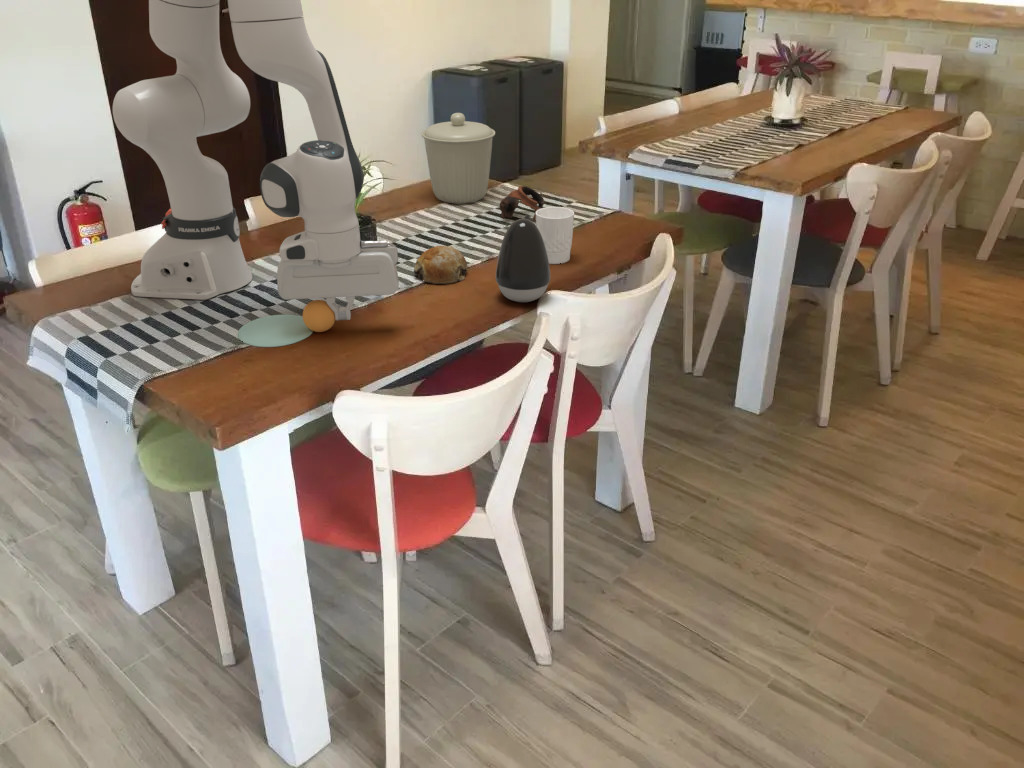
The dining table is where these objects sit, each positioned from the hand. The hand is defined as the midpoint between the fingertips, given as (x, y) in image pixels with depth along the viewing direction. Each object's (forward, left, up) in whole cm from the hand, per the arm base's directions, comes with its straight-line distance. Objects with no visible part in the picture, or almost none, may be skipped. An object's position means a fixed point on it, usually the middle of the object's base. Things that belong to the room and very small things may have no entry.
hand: (343, 319), depth 152 cm
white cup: (+40, +32, -2) cm, 52 cm away
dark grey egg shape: (+32, +12, -2) cm, 35 cm away
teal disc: (-12, 0, -2) cm, 12 cm away
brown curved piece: (+35, +61, -2) cm, 70 cm away
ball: (-4, 0, +1) cm, 4 cm away
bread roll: (+17, +24, -3) cm, 30 cm away
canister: (+21, +77, -2) cm, 80 cm away
